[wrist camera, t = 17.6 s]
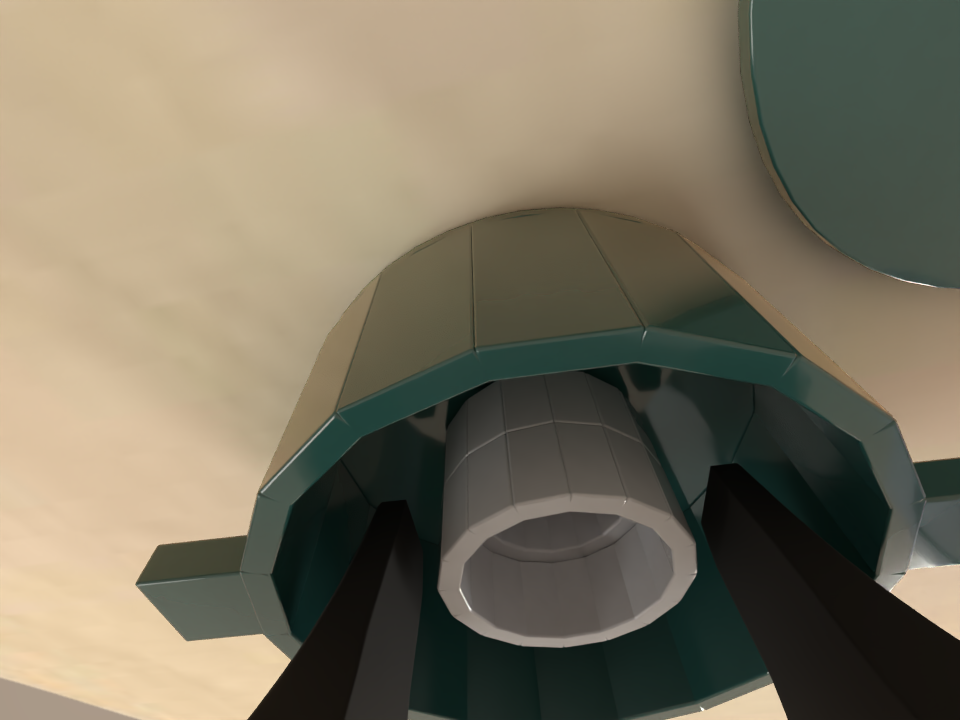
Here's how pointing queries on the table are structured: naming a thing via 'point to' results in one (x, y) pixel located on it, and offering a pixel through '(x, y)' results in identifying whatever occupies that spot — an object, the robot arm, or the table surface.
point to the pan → (548, 350)
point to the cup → (557, 515)
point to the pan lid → (862, 125)
